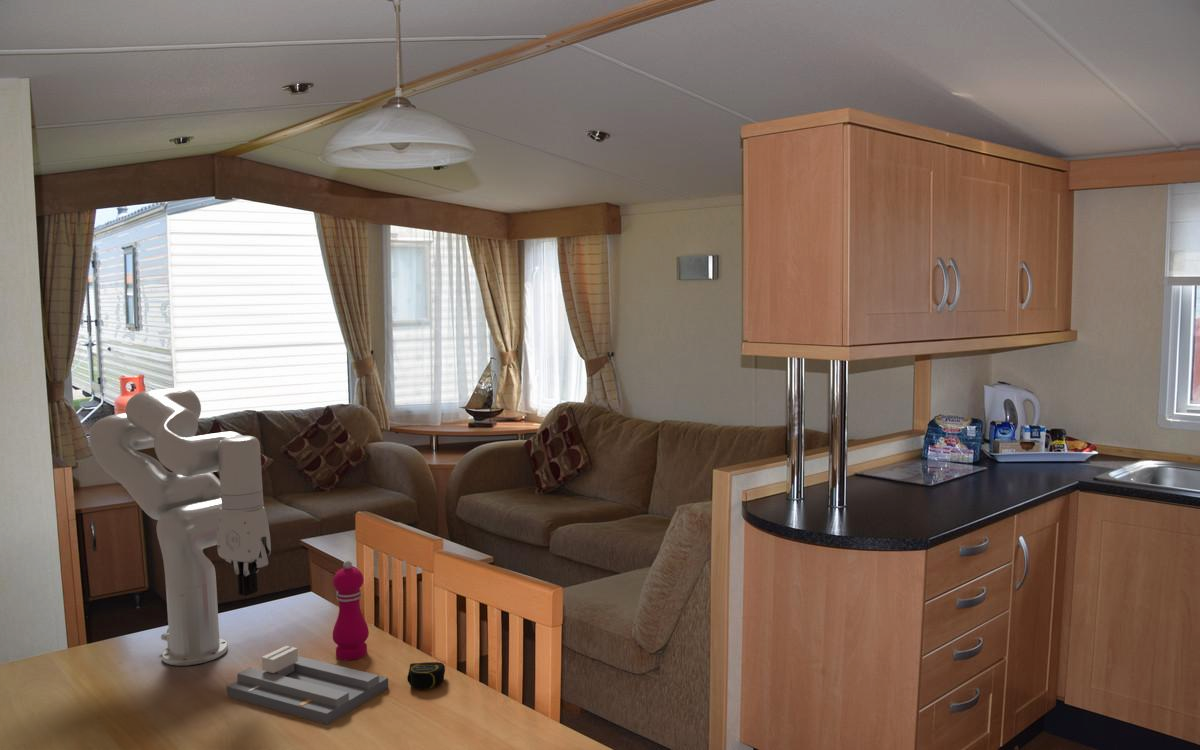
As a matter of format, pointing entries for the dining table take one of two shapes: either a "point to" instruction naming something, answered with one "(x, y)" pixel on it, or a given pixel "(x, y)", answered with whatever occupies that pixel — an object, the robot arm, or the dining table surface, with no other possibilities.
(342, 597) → the pepper mill
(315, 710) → the fader console
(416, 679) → the tape measure
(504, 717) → the dining table surface
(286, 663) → the fader tab
